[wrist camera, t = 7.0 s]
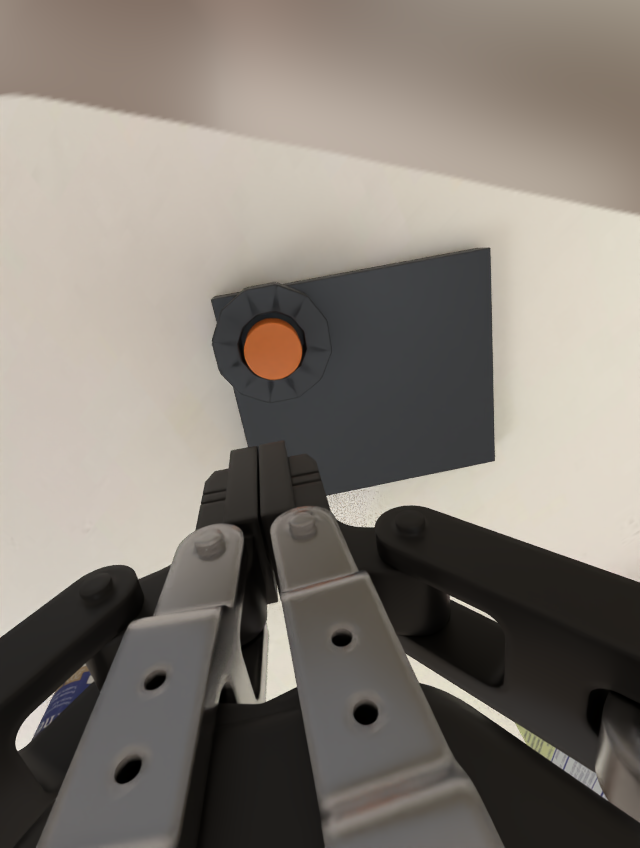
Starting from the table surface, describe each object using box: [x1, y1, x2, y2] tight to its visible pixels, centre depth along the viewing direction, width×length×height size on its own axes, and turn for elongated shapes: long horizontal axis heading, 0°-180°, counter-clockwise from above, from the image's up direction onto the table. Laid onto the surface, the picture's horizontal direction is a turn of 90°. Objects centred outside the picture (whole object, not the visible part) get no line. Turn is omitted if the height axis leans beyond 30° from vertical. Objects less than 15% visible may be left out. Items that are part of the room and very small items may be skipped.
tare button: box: [244, 318, 302, 380], centre depth 21 cm, size 3×3×2 cm
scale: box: [211, 248, 495, 496], centre depth 24 cm, size 14×12×3 cm
